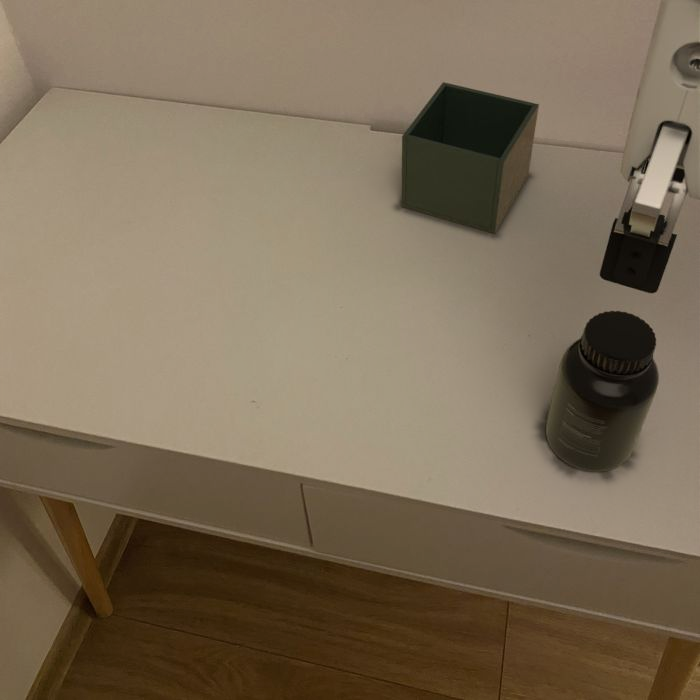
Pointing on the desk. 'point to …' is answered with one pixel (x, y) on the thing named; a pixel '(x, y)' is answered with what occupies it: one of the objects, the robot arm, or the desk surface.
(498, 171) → the open box
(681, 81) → the robot arm
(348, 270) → the desk surface
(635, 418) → the supplement bottle
